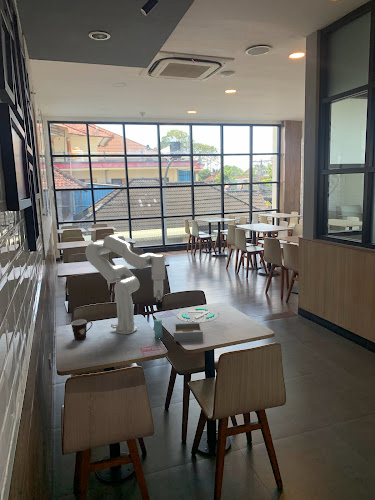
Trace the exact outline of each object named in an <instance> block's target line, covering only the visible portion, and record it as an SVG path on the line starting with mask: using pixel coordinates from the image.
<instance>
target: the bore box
mask: <svg viewBox="0 0 375 500" xmlns="http://www.w3.org/2000/svg"><path fill="white" fill-rule="evenodd" d="M203 336H204V334H203V327H202V323H201V322H200V323H193V322H185V323H184V322H183V323H180V322H179V323H173V341H174V342H191V341H192V342H193V341H203V339H204V337H203Z"/></svg>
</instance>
